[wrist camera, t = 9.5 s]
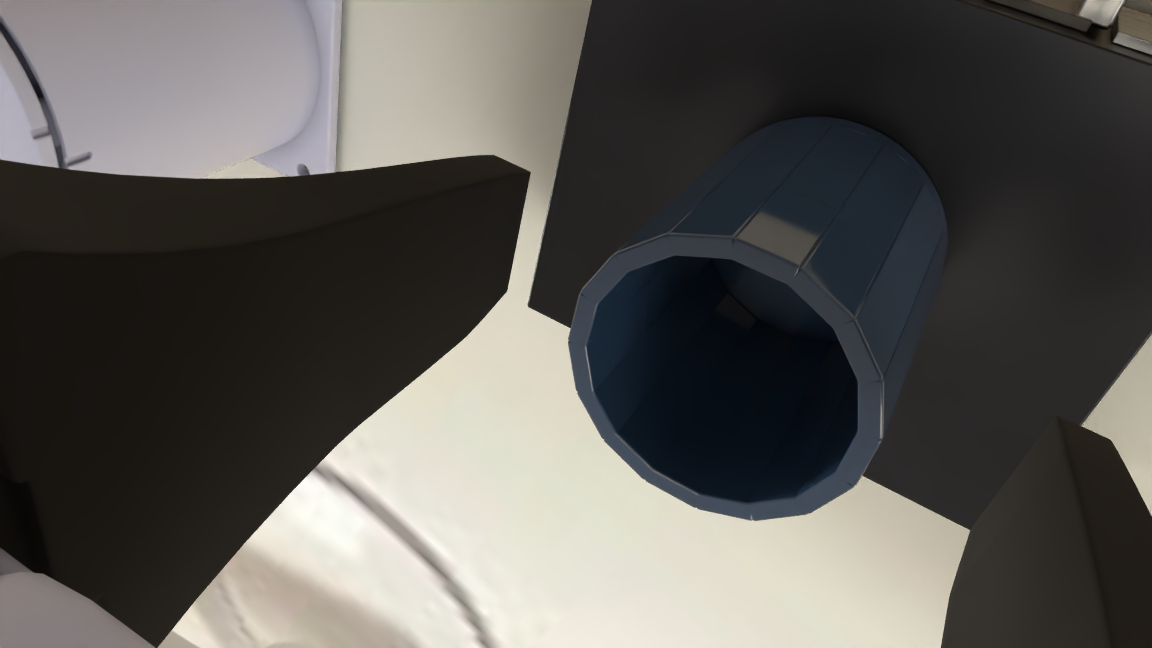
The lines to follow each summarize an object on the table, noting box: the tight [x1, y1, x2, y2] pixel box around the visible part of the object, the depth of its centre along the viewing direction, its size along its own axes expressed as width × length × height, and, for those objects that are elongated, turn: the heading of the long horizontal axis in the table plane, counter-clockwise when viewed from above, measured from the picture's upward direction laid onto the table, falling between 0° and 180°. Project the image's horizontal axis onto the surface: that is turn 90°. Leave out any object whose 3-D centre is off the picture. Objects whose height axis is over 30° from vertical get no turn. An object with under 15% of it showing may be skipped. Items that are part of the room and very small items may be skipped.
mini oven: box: [528, 0, 1152, 530], centre depth 19 cm, size 12×11×4 cm
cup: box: [568, 116, 948, 521], centre depth 15 cm, size 5×5×6 cm
